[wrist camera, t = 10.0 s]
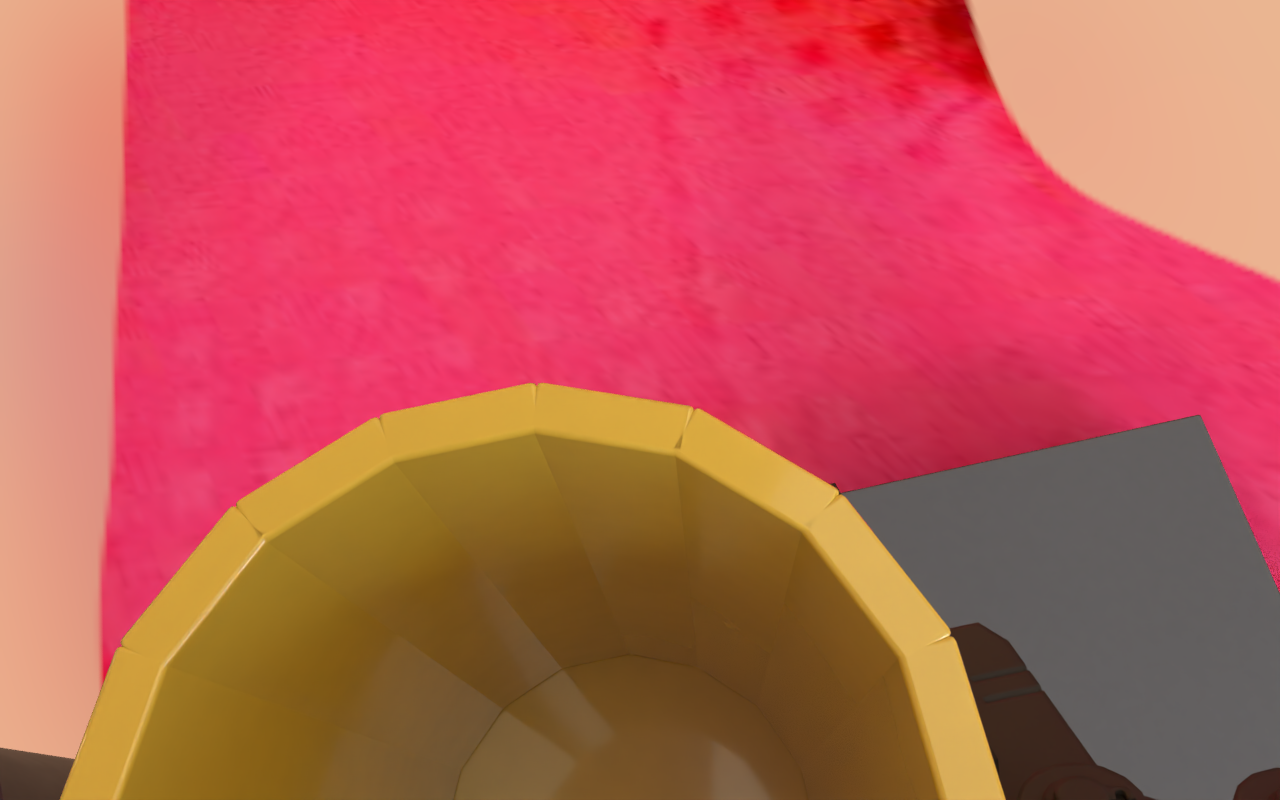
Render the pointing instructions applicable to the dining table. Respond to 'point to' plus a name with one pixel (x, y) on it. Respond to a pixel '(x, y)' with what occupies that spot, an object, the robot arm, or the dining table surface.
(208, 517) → the dining table surface
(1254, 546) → the grey block
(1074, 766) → the robot arm
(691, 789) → the yellow cup
